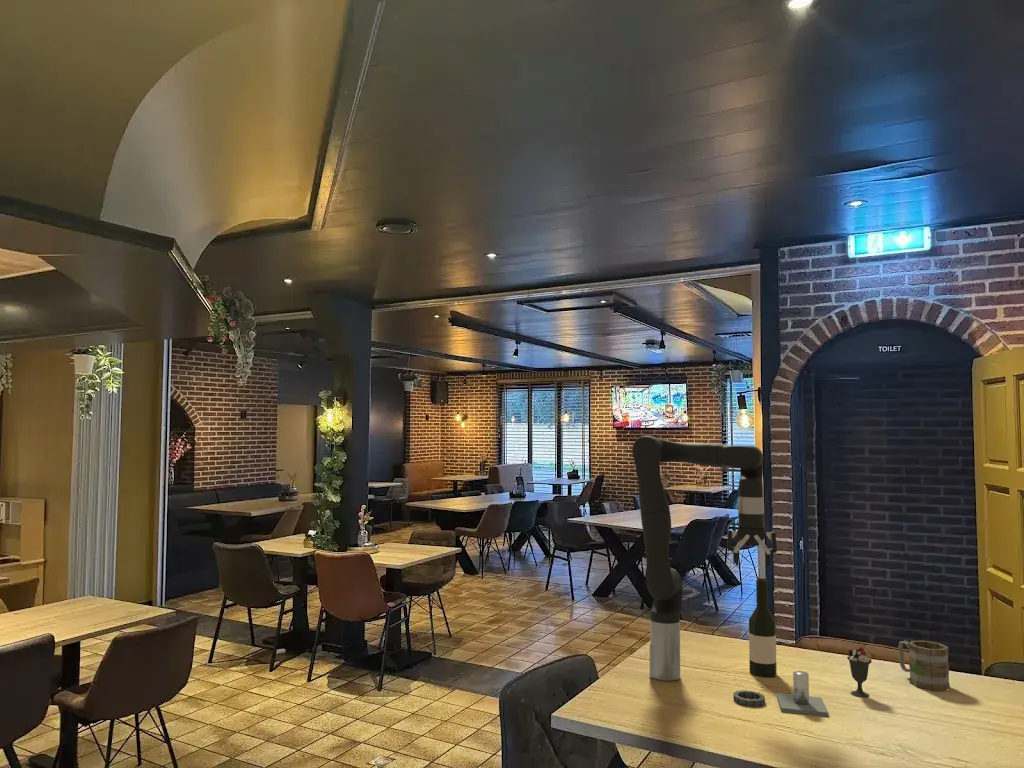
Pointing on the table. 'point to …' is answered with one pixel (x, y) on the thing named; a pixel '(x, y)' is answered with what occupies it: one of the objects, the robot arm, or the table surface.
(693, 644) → the table surface
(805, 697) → the cylinder
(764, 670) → the wine bottle
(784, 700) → the slate mat
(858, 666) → the sundae
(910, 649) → the mug
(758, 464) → the robot arm
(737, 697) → the metal eye
